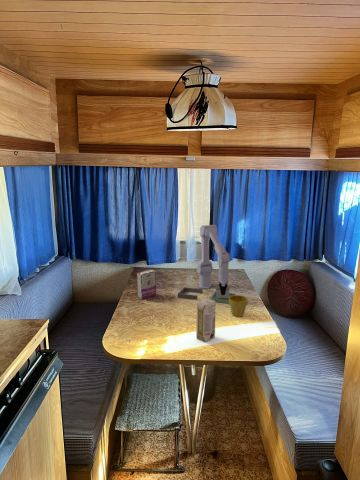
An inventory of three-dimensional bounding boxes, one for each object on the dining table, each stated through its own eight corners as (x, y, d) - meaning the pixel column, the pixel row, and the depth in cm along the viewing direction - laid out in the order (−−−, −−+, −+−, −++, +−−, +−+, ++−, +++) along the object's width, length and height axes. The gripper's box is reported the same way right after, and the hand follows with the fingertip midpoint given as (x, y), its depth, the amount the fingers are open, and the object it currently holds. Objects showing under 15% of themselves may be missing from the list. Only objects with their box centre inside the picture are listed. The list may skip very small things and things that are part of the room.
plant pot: (245, 319, 199) (246, 302, 197) (226, 317, 202) (227, 300, 200) (248, 312, 209) (249, 296, 207) (230, 310, 212) (230, 294, 210)
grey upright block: (216, 295, 231) (216, 286, 230) (228, 295, 230) (229, 286, 229) (215, 297, 227) (215, 288, 226) (228, 298, 226) (229, 288, 225)
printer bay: (184, 290, 244) (184, 287, 243) (202, 292, 240) (202, 289, 239) (177, 297, 232) (177, 293, 231) (197, 299, 228) (197, 296, 227)
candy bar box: (151, 293, 239) (151, 269, 236) (156, 295, 235) (156, 271, 232) (137, 297, 232) (136, 272, 229) (141, 299, 228) (141, 274, 225)
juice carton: (217, 337, 179) (217, 300, 175) (206, 343, 172) (206, 305, 168) (204, 332, 184) (205, 296, 180) (193, 338, 177) (194, 301, 173)
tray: (214, 294, 237) (214, 291, 237) (235, 296, 233) (235, 293, 233) (209, 301, 225) (209, 298, 224) (231, 304, 221) (231, 301, 220)
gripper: (217, 269, 233) (216, 289, 236) (216, 275, 219) (216, 297, 222) (228, 269, 232) (227, 289, 235) (228, 276, 218) (228, 297, 221)
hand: (223, 293), depth 228 cm, fingers closed on grey upright block, 4 cm apart
